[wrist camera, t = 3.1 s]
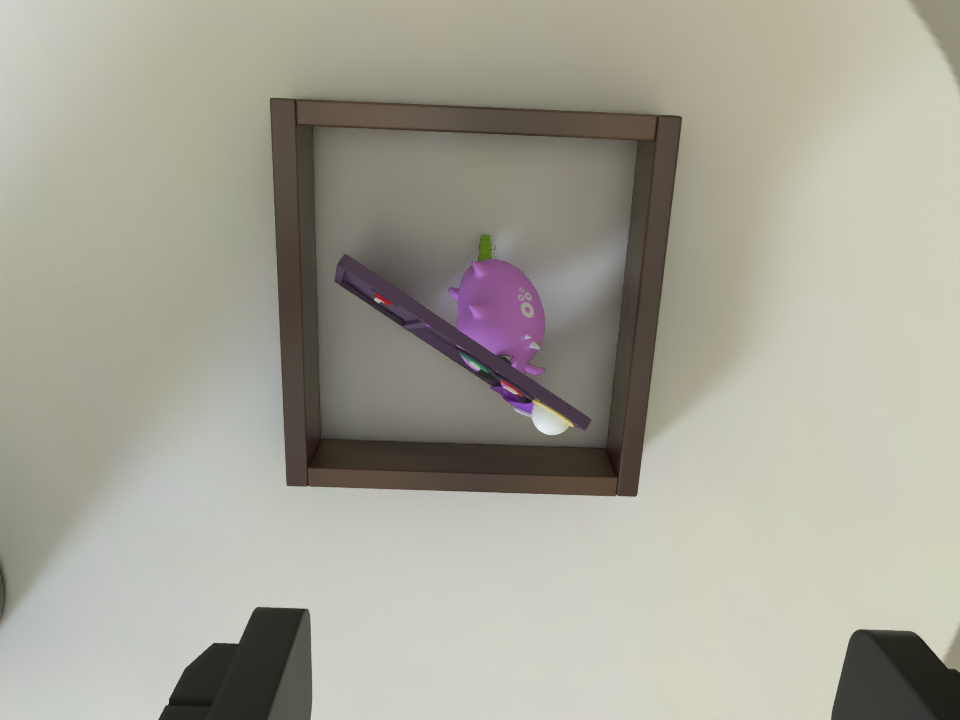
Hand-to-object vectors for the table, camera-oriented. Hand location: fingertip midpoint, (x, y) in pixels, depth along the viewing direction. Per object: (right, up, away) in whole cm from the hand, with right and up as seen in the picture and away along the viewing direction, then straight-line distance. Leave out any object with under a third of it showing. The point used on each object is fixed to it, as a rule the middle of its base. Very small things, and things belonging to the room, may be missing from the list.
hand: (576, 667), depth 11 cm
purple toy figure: (-2, +7, +17) cm, 19 cm away
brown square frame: (-2, +7, +17) cm, 18 cm away
